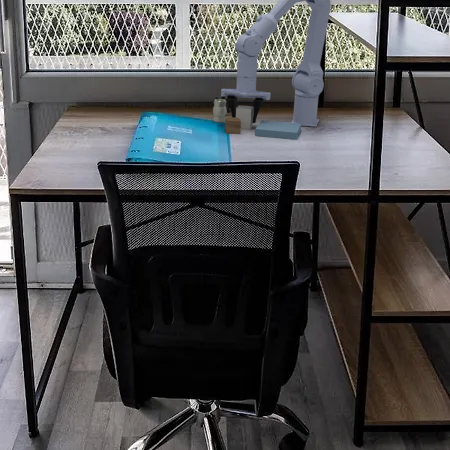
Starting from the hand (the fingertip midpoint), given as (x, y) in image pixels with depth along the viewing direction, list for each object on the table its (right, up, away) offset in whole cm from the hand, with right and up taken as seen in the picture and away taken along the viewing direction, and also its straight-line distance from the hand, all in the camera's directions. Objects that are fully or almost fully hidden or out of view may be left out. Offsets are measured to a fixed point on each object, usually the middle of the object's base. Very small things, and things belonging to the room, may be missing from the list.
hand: (244, 121), depth 248 cm
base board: (+10, -4, -5) cm, 12 cm away
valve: (-7, +2, +10) cm, 13 cm away
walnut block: (-4, -4, -6) cm, 8 cm away
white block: (0, -2, +1) cm, 2 cm away
